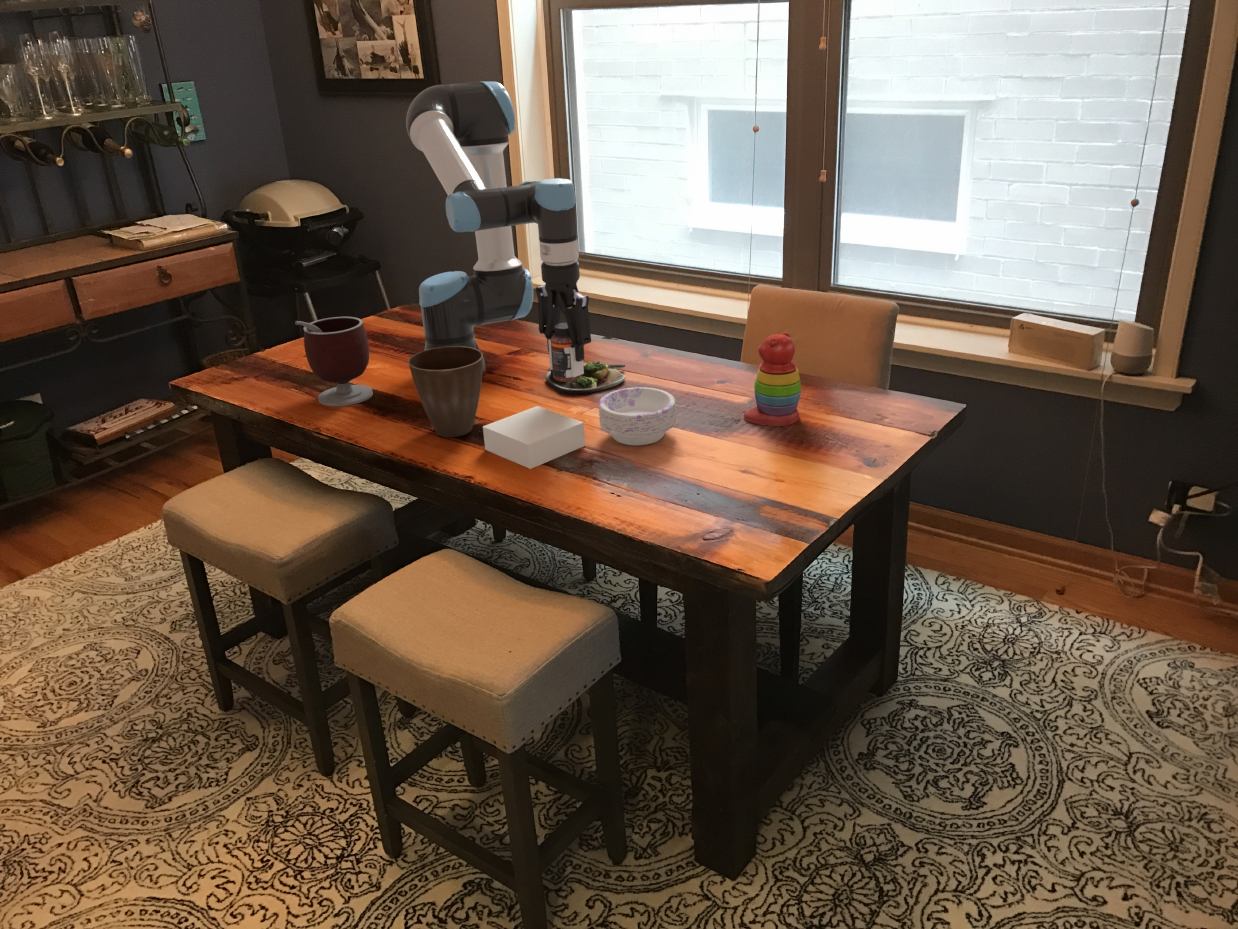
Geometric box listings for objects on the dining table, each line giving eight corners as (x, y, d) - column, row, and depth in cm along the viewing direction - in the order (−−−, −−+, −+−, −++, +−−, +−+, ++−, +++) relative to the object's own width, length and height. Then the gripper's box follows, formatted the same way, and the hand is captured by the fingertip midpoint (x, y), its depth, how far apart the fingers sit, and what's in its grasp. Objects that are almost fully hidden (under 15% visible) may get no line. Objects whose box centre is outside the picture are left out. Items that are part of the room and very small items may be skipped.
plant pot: (500, 418, 210) (492, 346, 203) (477, 446, 197) (468, 370, 190) (434, 416, 213) (424, 345, 206) (407, 443, 200) (396, 368, 193)
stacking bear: (771, 404, 210) (773, 323, 202) (811, 415, 203) (814, 332, 196) (739, 419, 203) (739, 336, 195) (779, 431, 196) (781, 346, 189)
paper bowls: (654, 457, 188) (653, 419, 185) (586, 445, 195) (584, 407, 192) (689, 428, 200) (688, 392, 197) (623, 418, 207) (621, 382, 204)
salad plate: (610, 362, 241) (609, 344, 239) (644, 383, 226) (643, 364, 224) (537, 377, 233) (535, 359, 231) (567, 400, 219) (565, 381, 217)
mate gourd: (356, 381, 236) (342, 300, 227) (388, 394, 227) (374, 310, 218) (297, 400, 226) (280, 315, 218) (327, 414, 217) (311, 326, 209)
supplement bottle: (578, 383, 202) (574, 330, 197) (549, 382, 203) (546, 329, 198) (584, 373, 207) (581, 321, 202) (557, 372, 208) (553, 320, 203)
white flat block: (485, 449, 195) (482, 426, 193) (539, 428, 204) (537, 405, 202) (530, 469, 186) (528, 444, 184) (585, 445, 194) (583, 422, 192)
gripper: (514, 257, 198) (524, 366, 208) (577, 272, 186) (584, 387, 196) (543, 250, 203) (550, 356, 213) (606, 264, 190) (611, 376, 200)
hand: (567, 371), depth 204 cm, fingers closed on supplement bottle, 6 cm apart
